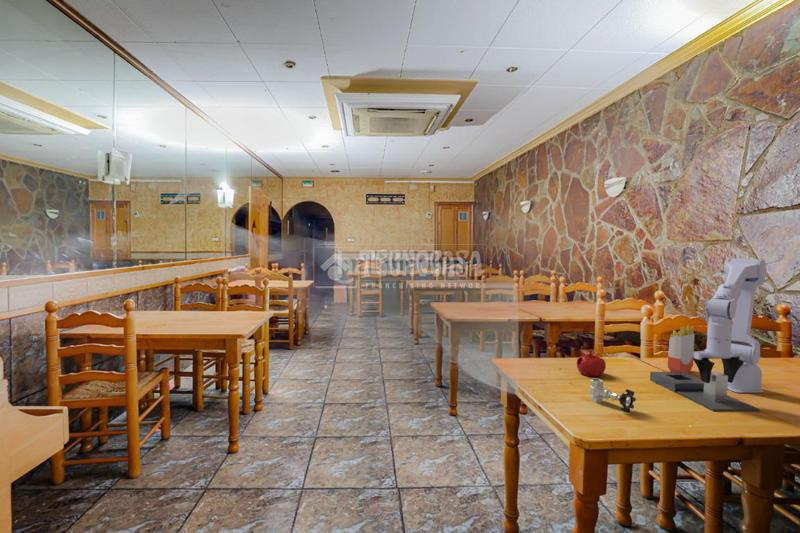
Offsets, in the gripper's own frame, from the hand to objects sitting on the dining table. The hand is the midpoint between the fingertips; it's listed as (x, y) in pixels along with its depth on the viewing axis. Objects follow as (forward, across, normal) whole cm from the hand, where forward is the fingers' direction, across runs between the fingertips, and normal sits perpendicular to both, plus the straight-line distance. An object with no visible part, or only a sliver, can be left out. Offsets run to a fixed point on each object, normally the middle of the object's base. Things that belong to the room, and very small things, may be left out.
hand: (716, 381), depth 120 cm
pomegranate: (+6, +24, -28) cm, 37 cm away
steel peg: (+6, 0, 0) cm, 6 cm away
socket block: (+6, 0, -14) cm, 15 cm away
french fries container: (+6, -12, -28) cm, 32 cm away
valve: (+7, +35, 0) cm, 36 cm away
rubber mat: (+6, 0, 0) cm, 6 cm away
